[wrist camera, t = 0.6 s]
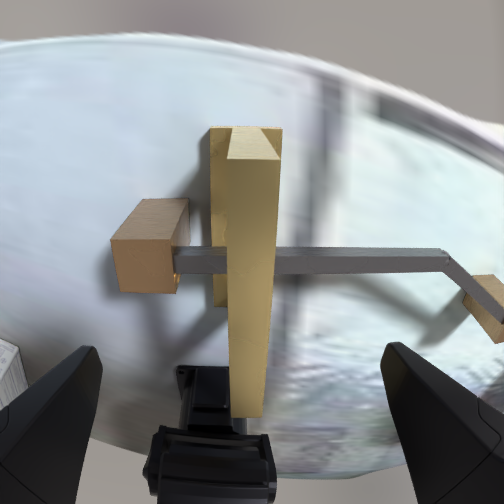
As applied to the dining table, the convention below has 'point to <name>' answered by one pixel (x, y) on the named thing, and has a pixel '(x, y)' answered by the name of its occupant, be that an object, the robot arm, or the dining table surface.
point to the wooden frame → (246, 250)
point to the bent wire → (277, 261)
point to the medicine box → (10, 373)
